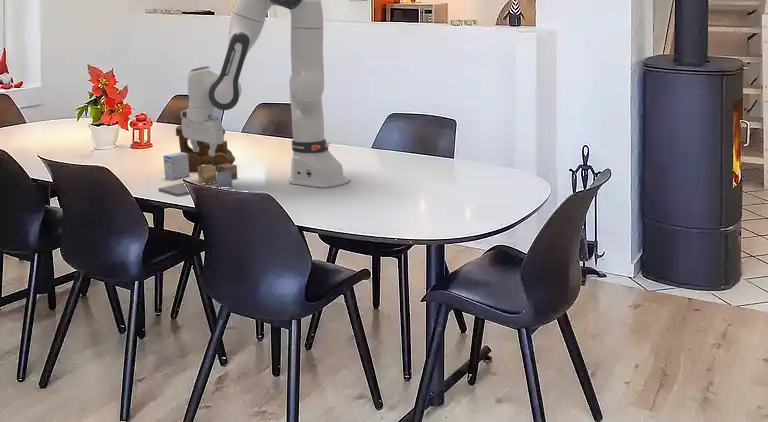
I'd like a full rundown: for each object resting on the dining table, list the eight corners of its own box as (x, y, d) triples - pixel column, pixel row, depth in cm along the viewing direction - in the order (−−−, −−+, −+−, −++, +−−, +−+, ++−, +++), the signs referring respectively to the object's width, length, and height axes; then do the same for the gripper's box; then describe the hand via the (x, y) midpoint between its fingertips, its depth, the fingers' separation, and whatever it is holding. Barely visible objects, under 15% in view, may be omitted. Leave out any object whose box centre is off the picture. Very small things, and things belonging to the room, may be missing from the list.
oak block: (216, 182, 308) (215, 166, 306) (206, 185, 305) (205, 168, 303) (209, 181, 311) (208, 164, 309) (198, 183, 308) (197, 166, 306)
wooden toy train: (178, 172, 325) (174, 128, 321) (184, 166, 336) (180, 123, 332) (231, 171, 326) (229, 127, 321) (236, 164, 337) (233, 122, 332)
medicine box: (182, 174, 321) (180, 151, 319) (190, 176, 319) (188, 153, 316) (164, 178, 315) (162, 155, 313) (172, 180, 313) (170, 156, 310)
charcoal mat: (206, 190, 297) (206, 187, 297) (178, 196, 289) (178, 193, 289) (186, 185, 305) (185, 182, 305) (158, 191, 297) (158, 188, 297)
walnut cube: (237, 178, 314) (236, 165, 312) (226, 181, 310) (225, 167, 309) (229, 176, 317) (228, 163, 316) (217, 179, 314) (216, 165, 312)
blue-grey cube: (235, 187, 301) (234, 172, 300) (223, 189, 298) (222, 175, 296) (226, 184, 304) (225, 170, 303) (214, 187, 301) (213, 173, 300)
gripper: (227, 116, 297) (229, 156, 300) (192, 110, 310) (194, 148, 314) (212, 118, 292) (213, 159, 296) (177, 112, 306) (179, 150, 309)
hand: (203, 153), depth 305 cm, fingers open, 8 cm apart
